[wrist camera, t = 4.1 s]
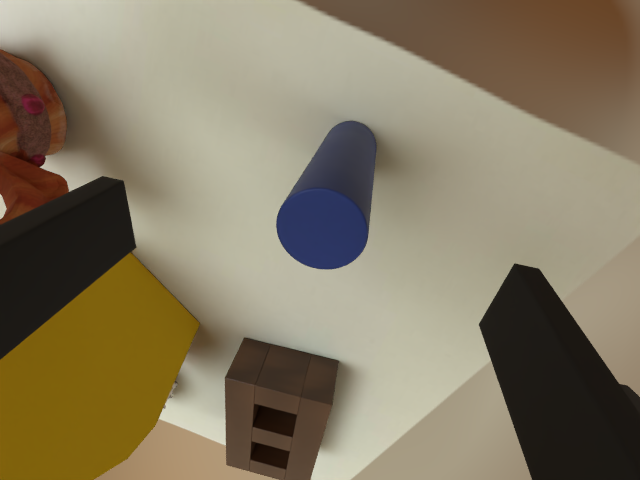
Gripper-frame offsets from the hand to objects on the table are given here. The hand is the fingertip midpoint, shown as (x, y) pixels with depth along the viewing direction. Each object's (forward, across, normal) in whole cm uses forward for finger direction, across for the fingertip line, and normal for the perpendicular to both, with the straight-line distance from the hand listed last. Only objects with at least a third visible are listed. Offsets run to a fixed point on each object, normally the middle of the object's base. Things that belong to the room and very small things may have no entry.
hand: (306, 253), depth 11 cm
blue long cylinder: (+14, 0, 0) cm, 14 cm away
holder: (+14, -2, -31) cm, 34 cm away
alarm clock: (+14, -19, -20) cm, 31 cm away
